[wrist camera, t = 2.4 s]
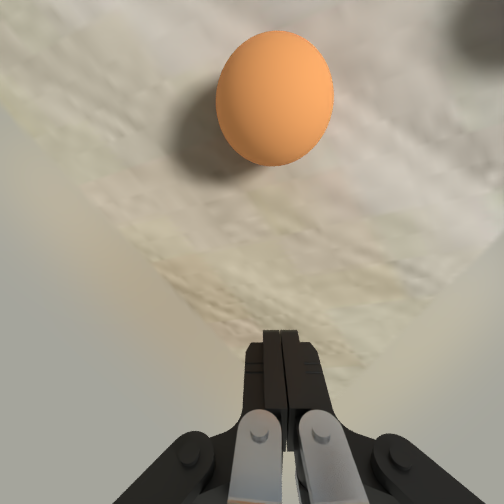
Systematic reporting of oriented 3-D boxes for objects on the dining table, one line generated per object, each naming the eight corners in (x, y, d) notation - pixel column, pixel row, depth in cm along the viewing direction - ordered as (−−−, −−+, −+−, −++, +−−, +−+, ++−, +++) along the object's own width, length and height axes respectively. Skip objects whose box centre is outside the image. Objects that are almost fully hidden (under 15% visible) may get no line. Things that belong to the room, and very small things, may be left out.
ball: (219, 52, 14) (197, 10, 9) (323, 48, 14) (360, 3, 9) (226, 161, 16) (212, 175, 11) (315, 158, 16) (341, 172, 11)
